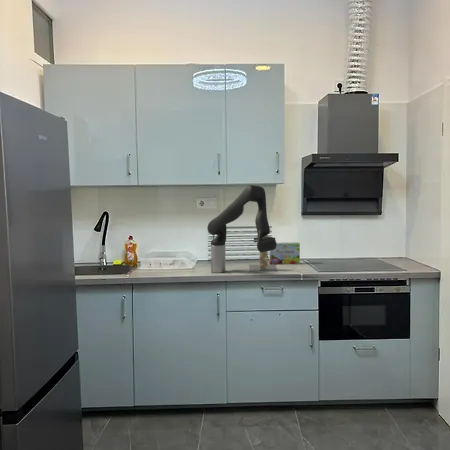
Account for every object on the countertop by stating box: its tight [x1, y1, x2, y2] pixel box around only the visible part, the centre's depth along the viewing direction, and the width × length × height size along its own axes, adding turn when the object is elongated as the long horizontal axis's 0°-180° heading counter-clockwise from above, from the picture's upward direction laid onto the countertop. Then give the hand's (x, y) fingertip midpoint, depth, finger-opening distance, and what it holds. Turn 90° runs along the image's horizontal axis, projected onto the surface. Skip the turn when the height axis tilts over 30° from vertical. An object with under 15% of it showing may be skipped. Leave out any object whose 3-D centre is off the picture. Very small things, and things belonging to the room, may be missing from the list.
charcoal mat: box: [248, 263, 279, 273], centre depth 283 cm, size 18×28×1 cm, turn 177°
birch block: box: [258, 251, 268, 271], centre depth 276 cm, size 5×5×16 cm
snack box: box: [268, 241, 301, 265], centre depth 303 cm, size 21×6×15 cm, turn 94°
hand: (263, 238), depth 265 cm, fingers closed
